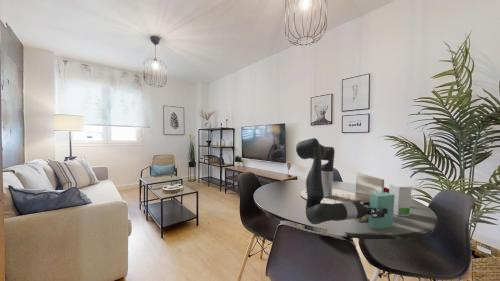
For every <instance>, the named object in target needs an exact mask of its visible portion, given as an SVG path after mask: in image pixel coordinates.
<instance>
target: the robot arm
mask: <svg viewBox="0 0 500 281" xmlns="http://www.w3.org/2000/svg"><path fill="white" fill-rule="evenodd" d="M335 151H336V150H335V147H333V146H324V145H322V144H320V142H319V140H318V139H317V138H316V137H315V138H313V137H312V138H309V139H305V140H301V141H299V142H297V143H296V146H295V152H296V154H297V156H298V157H299V158H300V159H302V160H308V159H310V160H313V162H312V165H311V168H310V170H309V171H308V174H307V177H306V179H305V185H306V186H305V188H306V196H307V198H306V201H305V202H306V203H305V216H306V220H308V222H309V223H310V224H312V225H319V224H321V223H327V222H330V221H334V222H340V221H351V220H354V219H361V218H363V217H364V216H365V215H372V218H383V217H384V216H385V214H387V213H388V209H386V208H384V209H376V208H375V207H370V202H360V201H359V200H357V201H355V200H351V201H350V202H349V201H342V202H338V203H335V202H334V203H325V202H324V203H322V202H321V201H322V200H323V199H324V198H332V196H333V181H334V160H335ZM322 161H327V163H324V164H322ZM372 209H373V212H372ZM354 221H355V220H354Z"/></svg>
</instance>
